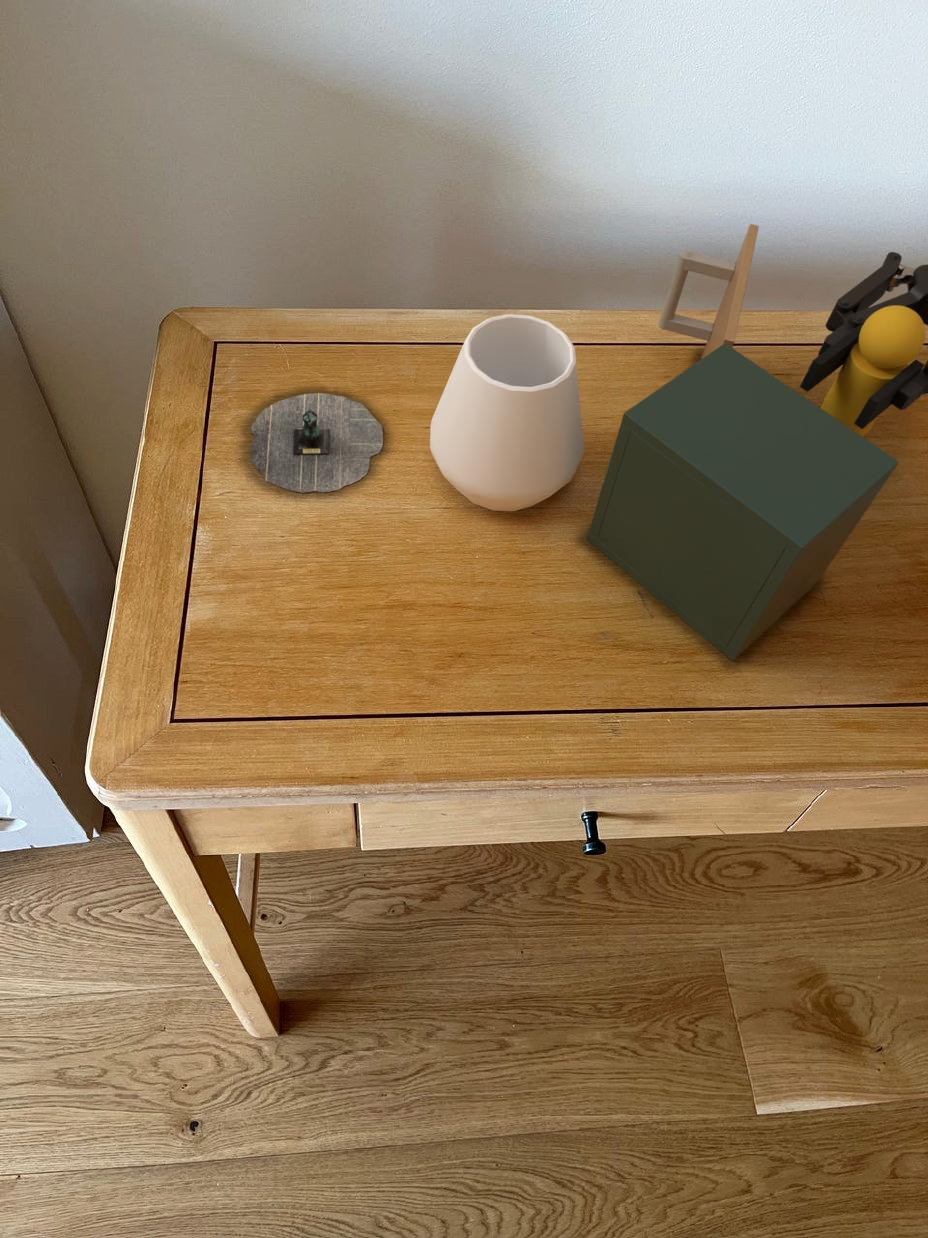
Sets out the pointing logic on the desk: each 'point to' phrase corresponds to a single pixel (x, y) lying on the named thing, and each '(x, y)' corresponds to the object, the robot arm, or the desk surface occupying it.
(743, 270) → the cabinet door
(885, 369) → the toy
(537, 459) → the white tapered cylinder
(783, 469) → the cabinet
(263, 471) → the sculpture
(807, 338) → the desk surface
